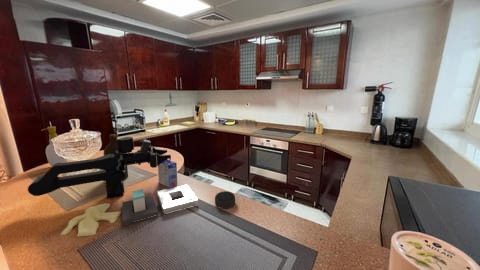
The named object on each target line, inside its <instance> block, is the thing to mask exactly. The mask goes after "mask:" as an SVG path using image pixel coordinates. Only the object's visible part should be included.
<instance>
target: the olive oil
mask: <svg viewBox="0 0 480 270" xmlns="http://www.w3.org/2000/svg"><path fill="white" fill-rule="evenodd" d="M116 139H118V134H117V133H113V134H112V133H111V134H110V135H109V143H108V144H107V145H105V148H104V149H103V156H104V155H108V154H112V153H114V152H115V151H116V150H118V147H117V143H116ZM123 154H125V153H123ZM120 158H122V153H120ZM118 165H121V163H120V159H119V163H118ZM128 168H129V167H128V165H126V166H125V176H124V178H123V179H122V181H124V180H126V179H128V178H129V171H128Z"/></svg>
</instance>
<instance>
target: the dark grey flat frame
mask: <svg viewBox="0 0 480 270" xmlns="http://www.w3.org/2000/svg"><path fill="white" fill-rule="evenodd" d="M144 198H145V208H146V210H143V211H139V212H135V213H134V211H133V210H134V204H133V199H130V200H126V201H122V206H121V207H122V210H121V214H122V226H123V225H124V226H126V224H127V225H130V224H129V223H131V222H134V221H137V220H141V219H144V218H148V217H151V216H154V215H157V214H158V215H159V210H158V208H157V205H156V200H155V197H154V195H148V196H144ZM148 219H149V218H148ZM141 221H142V220H141ZM134 223H135V222H134ZM131 224H132V223H131Z"/></svg>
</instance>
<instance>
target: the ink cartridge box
mask: <svg viewBox="0 0 480 270" xmlns="http://www.w3.org/2000/svg"><path fill="white" fill-rule="evenodd" d="M171 159H172V156H171V157H170V158H169V159H167V160H165V161H164V162H162V163H161V164H159V165H158V166H157V175H158V183H159V184H161V185H163V186H164V187H167V188H173V187H176V186H177V185H178V166H177V162H176V161H173V160H171Z"/></svg>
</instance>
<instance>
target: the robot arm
mask: <svg viewBox="0 0 480 270" xmlns="http://www.w3.org/2000/svg"><path fill="white" fill-rule="evenodd" d="M116 143H117V147H118V150H116V151H115V152H114V153H112V154H108V155H104V154H103V155H102V156H99V157H96V158H91V159H83V160H73V161H67V162H66V163H56V164H54V165H53V166H50V169H49V170H47V171H46V172H45V174H43V175H41V176H40V175H39V176H38V177H37V178H35V179H34V180H33V181H32V182H31V183H30V184H29V185H28V187H27V192H28V193H29V194H30V195H31V196H34V197H40V196H43V195H46V194H50V193H52V192H55V191H57V190H59V189H62V188H67V187H73V186H79V185H84V184H90V183H97V182H105V191H106V199H107V200H111V199H114V198H119V197H123V196H124V193H125V183H124V182H123V180H122V179H123V178H124V176H125V166H126V165H127V166H133V165H138V166H140V165H142V164H144V163H145V164H146V163H147V164H149V167H150V168H153V169H154V168H155V169H156V168H158V165H159V164H161V163H162V162H164V161H165V160H170V159H169V158H170V157H171V158H172V155H171V154H167V153H168V150H167V149H159V148H155V147H154V146H153V145H152V144H151V140H148V139H146V138H145V139H142V140H139V142H138V144H139V146H140V149H137V150H136V151H135V152H134V151H133V150H135V143H134V137H133V136H124V137H121V138H117V139H116ZM120 153H122V158H120ZM123 153H125V154H123ZM119 159H120V163H121V165H118V163H119ZM89 170H97V171H91V172H84V173H78V174H70V175H65V176H60V175H62V174H69V173H76V172H82V171H89Z"/></svg>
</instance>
